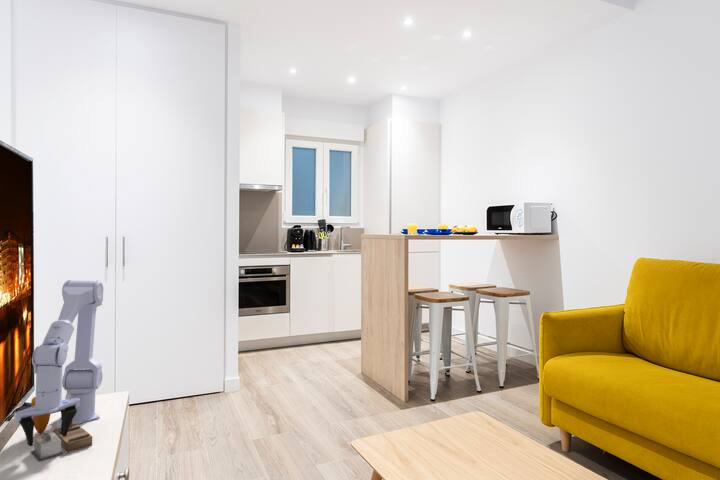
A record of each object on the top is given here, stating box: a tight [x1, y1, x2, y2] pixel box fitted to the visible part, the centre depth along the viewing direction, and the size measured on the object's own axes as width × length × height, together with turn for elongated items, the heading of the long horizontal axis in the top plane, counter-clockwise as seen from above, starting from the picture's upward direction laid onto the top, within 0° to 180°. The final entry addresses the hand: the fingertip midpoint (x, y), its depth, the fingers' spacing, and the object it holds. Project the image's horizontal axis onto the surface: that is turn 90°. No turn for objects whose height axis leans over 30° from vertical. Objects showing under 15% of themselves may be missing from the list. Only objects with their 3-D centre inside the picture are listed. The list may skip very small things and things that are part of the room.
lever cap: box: [33, 432, 62, 459], centre depth 119 cm, size 6×4×4 cm
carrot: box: [30, 396, 52, 436], centre depth 130 cm, size 5×5×15 cm
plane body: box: [52, 421, 93, 453], centre depth 126 cm, size 12×6×6 cm, turn 51°
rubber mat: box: [30, 449, 64, 462], centre depth 119 cm, size 7×6×1 cm
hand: (47, 439), depth 119 cm, fingers open, 7 cm apart
